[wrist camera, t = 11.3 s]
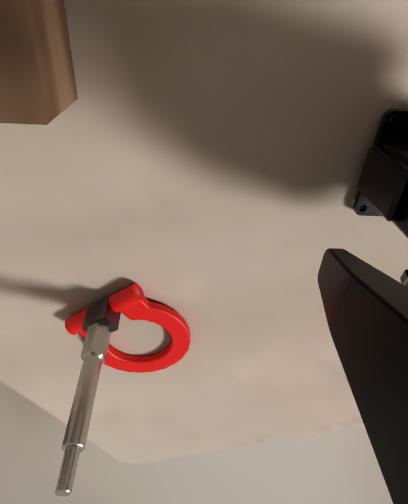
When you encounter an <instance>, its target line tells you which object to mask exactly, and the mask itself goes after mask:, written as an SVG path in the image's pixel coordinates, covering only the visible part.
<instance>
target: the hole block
mask: <svg viewBox="0 0 408 504" xmlns="http://www.w3.org/2000/svg"><path fill="white" fill-rule="evenodd" d="M76 99H78V98H77V91H76V84H75V77H74V70H73V63H72V57H71V50H70V43H69V36H68V29H67V22H66V15H65V8H64V1H63V0H0V123H18V124H42V125H47V124H48V123H50V122H51V121H52V120H53V119H54V118H55V117H57V116H58V115H59V114H60V113H61V112H62V111H64V110H65V109H66V108H67V107H68V106H69V105H71V104H72V103H73V102H74V101H75V100H76Z"/></svg>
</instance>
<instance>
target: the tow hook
mask: <svg viewBox="0 0 408 504" xmlns="http://www.w3.org/2000/svg"><path fill="white" fill-rule="evenodd" d="M121 312H122V313H123V314H124V315H125V316H126V317H127V318H129V319H131V320H147V321H151V322H154V323H157V324H159V325H161V326H162V327H164V328H165V329H166V330H167V331H168V332H169V334H170V335H171V338H172V340H171V343H170V344H169V346H168V347H167V348H165V349H164V350H163V351H161V352H159V353H157V354H153V355H150V356H132V355H127V354H124V353H121V352H119V351H117V350H116V349H114V348H113V347H112V346H111V345H110V344H109V339H110V335H111V332H113V331H116V330H117V329H118V325H119V320H120V314H121ZM65 327H66V329H67V331H68V332H69V333H70V334H72V335H75V334H77V333H80V334H81V335H82V336H84V337H85V341H84V345H83V349H82V353H81V358H82V360H83V364H82V368H81V372H80V376H79V380H78V384H77V388H76V392H75V396H74V400H73V404H72V408H71V412H70V416H69V420H68V424H67V428H66V432H65V436H64V440H63V445H62V449H63V450H64V451H65V453H64V457H63V461H62V465H61V469H60V474H59V478H58V482H57V486H56V490H55V494H56V495H58V496H68V495H70V494H71V492H72V487H73V483H74V477H75V473H76V468H77V463H78V459H79V454H80V452H82V451H83V450H84V449H85V444H86V439H87V434H88V429H89V424H90V419H91V414H92V409H93V404H94V399H95V394H96V389H97V384H98V379H99V374H100V369H101V364H102V363H104V364H105V365H108V366H110V367H113V368H115V369H118V370H123V371H127V372H140V373H142V372H153V371H157V370H161V369H165V368H167V367H169V366H171V365H173V364H175V363H176V362H178V361H179V360H180V359H182V358H183V357H184V355H185V354H186V352H187V351H188V349H189V345H190V331H189V327H188V325H187V323H186V321H185V320H184V318H183V317H181V316H180V315H179V314H178V313H177V312H176V311H174V310H172V309H170V308H169V307H167V306H165V305H162V304H158V303H155V302H151V301H148V300H147V299H146V298H145V297H144V293H143V291H142V289H141V287H140V286H139V285H138V284H133V285H131V286H129V287H127V288H125V289H123V290H121V291H119V292H117V293H116V294H114V295H109V296H107V297H105V298H103V299H101V300H99V301H97V302H95V303H94V304H92V305H90V306H89V307H88V308H87V309H85V310H83V311H81V312H79V313H77V314H75V315H74V316H72V317H70V318H68V319H67V320H66V321H65Z"/></svg>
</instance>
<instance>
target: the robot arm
mask: <svg viewBox="0 0 408 504" xmlns="http://www.w3.org/2000/svg"><path fill="white" fill-rule="evenodd" d="M394 115H395V119H394V121H392V122H390V123H389V120H390V118H391V117H392V116H394ZM357 188H358V193H357V196H356V199H355V202H354V205H353V209H354V211H355V212H356V213H357V214H358V215H365V216H384V218H385V219H386V220H387V221H392V222H393V223H394V224H395V225H396V226H397V227H398V228H399V229H400V230H401V231H402V232H403V233H404V235H405V236H406V237H407V238H408V109H390V110H388V111H386V112H385V113H384V115H383V117H382V119H381V122H380V125H379V128H378V131H377V134H376V137H375V140H374V144H373V146H372V147H371V148H370V149H369V151H368V154H367V157H366V161H365V164H364V167H363V170H362V173H361V176H360V179H359V182H358V185H357ZM362 205H365V206H364V208H362V209H359V208H360V207H361V206H362ZM400 279H401V283H402V284H401V283H399V282H398V281H396V280H394V279H393V278H391V277H389V276H388V275H386V274H384V273H383V272H381V271H379V270H378V269H376V268H374V267H373V266H371V265H369V264H368V263H366V262H364V261H363V260H361V259H359V258H358V257H356V256H354V255H353V254H351V253H349V252H348V251H346V250H344V249H332V248H330V249H327V250H326V251H325V253H324V256H323V259H322V263H321V266H320V269H319V273H318V284H319V288H320V292H321V297H322V301H323V305H324V309H325V313H326V318H327V322H328V326H329V329H330V333H331V336H332V339H333V342H334V344H335V347H336V350H337V352H338V355H339V358H340V360H341V363H342V366H343V369H344V371H345V374H346V377H347V379H348V382H349V385H350V388H351V390H352V393H353V396H354V398H355V401H356V404H357V407H358V409H359V412H360V415H361V417H362V420H363V423H364V425H365V428H366V431H367V434H368V436H369V439H370V442H371V444H372V447H373V450H374V452H375V455H376V458H377V461H378V463H379V466H380V469H381V472H382V474H383V477H384V480H385V482H386V485H387V488H388V490H389V493H390V496H391V499H392V501H393V504H408V270H405V271H404V273H403V274H402V276H401V277H400Z"/></svg>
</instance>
